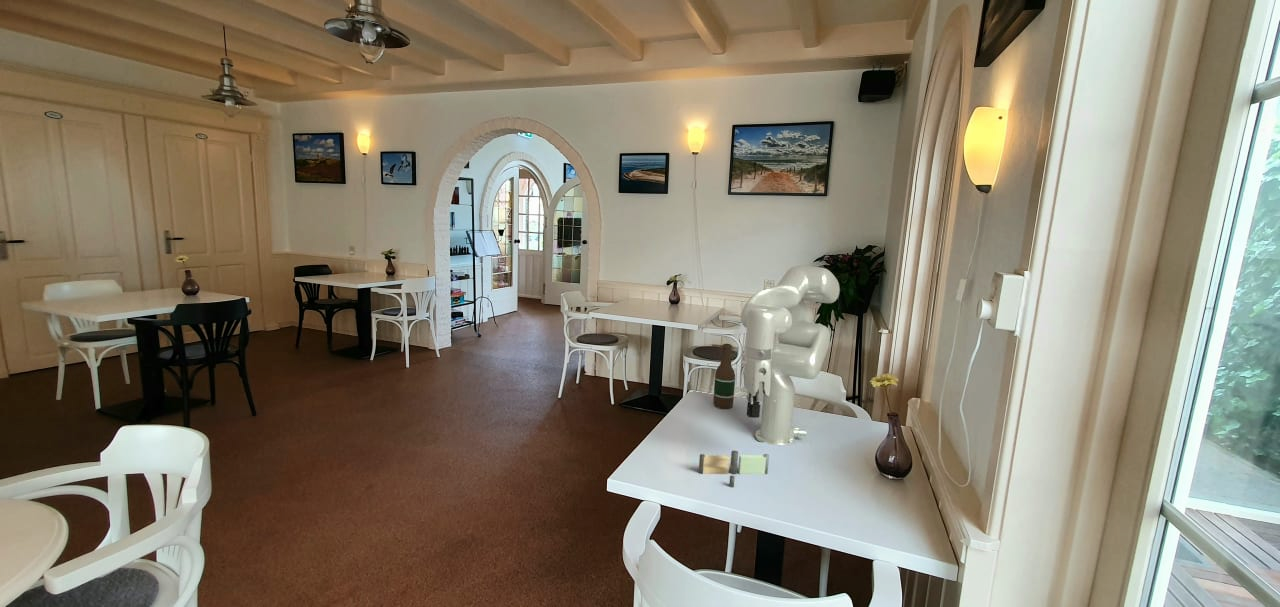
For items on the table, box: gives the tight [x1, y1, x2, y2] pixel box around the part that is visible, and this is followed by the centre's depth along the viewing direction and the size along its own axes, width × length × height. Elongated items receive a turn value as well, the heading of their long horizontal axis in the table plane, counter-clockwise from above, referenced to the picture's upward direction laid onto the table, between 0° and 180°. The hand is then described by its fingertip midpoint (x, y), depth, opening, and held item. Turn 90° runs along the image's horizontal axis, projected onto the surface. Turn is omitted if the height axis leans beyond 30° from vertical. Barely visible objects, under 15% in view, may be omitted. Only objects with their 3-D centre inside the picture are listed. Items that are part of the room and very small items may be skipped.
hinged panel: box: [737, 453, 770, 475], centre depth 139 cm, size 8×2×5 cm, turn 94°
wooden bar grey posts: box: [698, 450, 739, 488], centre depth 135 cm, size 10×9×6 cm
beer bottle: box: [712, 343, 736, 410], centre depth 192 cm, size 8×8×24 cm
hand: (752, 416), depth 144 cm, fingers closed
